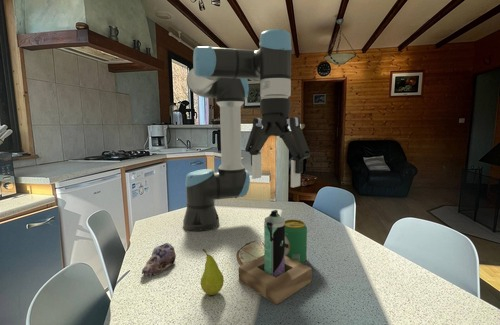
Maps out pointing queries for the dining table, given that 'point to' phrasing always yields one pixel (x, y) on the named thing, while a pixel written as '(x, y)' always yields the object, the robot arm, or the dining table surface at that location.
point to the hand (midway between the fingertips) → (274, 182)
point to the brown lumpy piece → (160, 259)
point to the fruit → (211, 277)
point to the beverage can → (295, 240)
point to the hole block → (275, 279)
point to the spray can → (274, 244)
